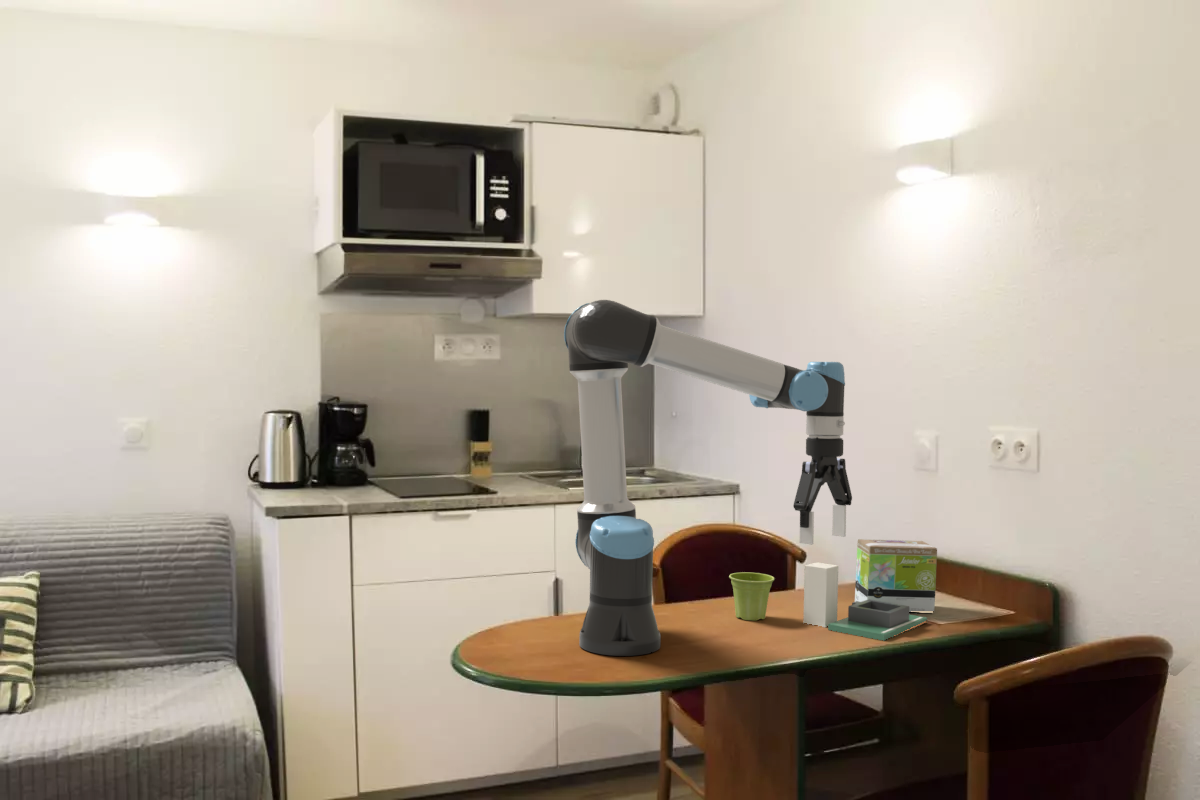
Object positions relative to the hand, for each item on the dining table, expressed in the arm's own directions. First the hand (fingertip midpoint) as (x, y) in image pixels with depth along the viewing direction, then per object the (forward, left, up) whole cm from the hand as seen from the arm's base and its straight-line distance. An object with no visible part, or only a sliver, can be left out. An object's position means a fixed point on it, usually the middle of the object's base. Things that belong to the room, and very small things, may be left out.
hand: (823, 539), depth 216 cm
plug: (0, 0, -17) cm, 17 cm away
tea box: (+24, -5, -18) cm, 30 cm away
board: (+6, -10, -17) cm, 21 cm away
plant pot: (-6, +13, -18) cm, 23 cm away
